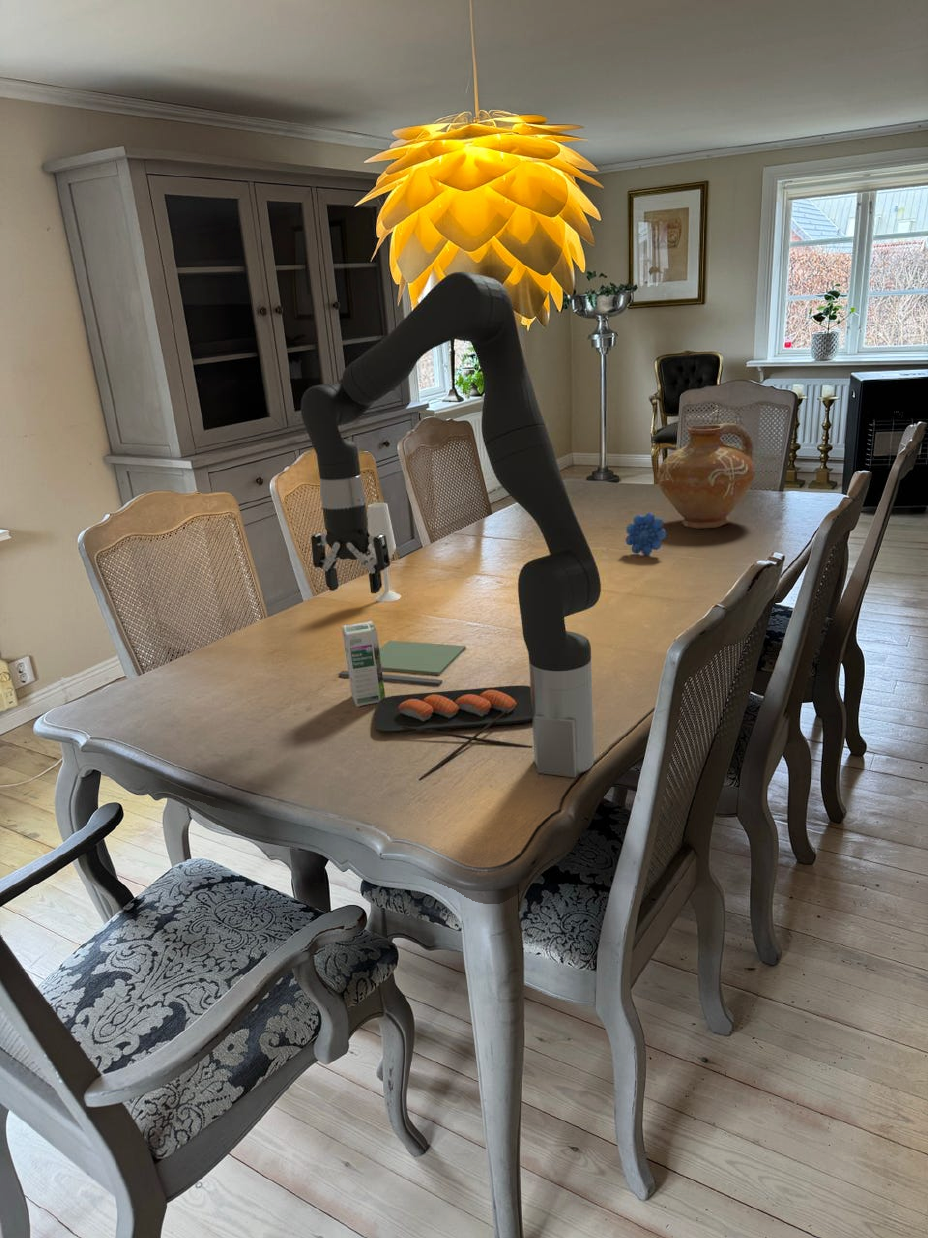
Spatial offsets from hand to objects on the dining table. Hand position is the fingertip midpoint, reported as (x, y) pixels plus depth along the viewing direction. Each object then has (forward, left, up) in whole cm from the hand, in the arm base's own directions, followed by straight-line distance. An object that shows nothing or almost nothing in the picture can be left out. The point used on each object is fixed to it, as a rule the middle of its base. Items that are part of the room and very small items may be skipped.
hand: (354, 590), depth 154 cm
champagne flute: (+56, +24, -22) cm, 65 cm away
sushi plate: (-9, -22, -22) cm, 33 cm away
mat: (+20, 0, -21) cm, 29 cm away
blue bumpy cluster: (+102, -33, -22) cm, 109 cm away
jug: (+137, -44, -22) cm, 145 cm away
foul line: (+9, 0, -21) cm, 23 cm away
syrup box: (0, 0, -22) cm, 22 cm away
